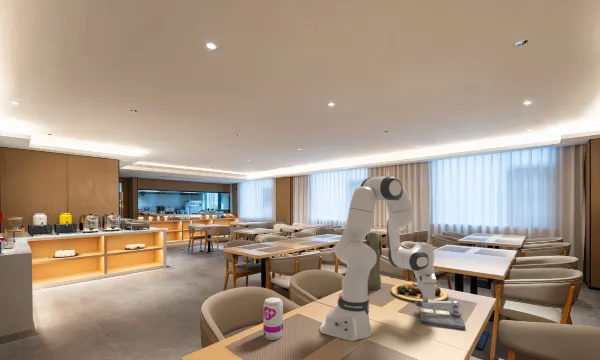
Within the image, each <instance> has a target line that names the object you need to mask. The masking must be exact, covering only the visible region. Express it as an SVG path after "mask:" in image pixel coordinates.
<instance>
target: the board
mask: <svg viewBox="0 0 600 360" xmlns="http://www.w3.org/2000/svg"><path fill="white" fill-rule="evenodd" d="M419 312H420V314H419V315H420V323H421V325H425V326H433V327H440V328H447V329H448V328H449V329H454V330H455V329H456V330H461V331H466V325H465V322H464V320H463V317H462V315H463V313H462V312H461V311H460V307H454V306H422V307H419Z"/></svg>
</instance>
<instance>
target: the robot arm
mask: <svg viewBox="0 0 600 360" xmlns="http://www.w3.org/2000/svg"><path fill="white" fill-rule="evenodd" d="M377 201H385V202H386V207H387V213H388V219H387V220H386V234H387V245H388V254H387V257H388V258H387V259H388V261H389V264H391V265H392V266H393V267H395V268H402V269H405V270H410V271H414V273H415V275H414V276H415V279H416V283H417V287H418V289H419V290H420V291H421V293H422V297H423V301H428V300H434V299H435V284H436V283H437V277H436V274H435V266H434V263H435V253H434V247H433V245H432V243H430V242H429V243H428V242H424V241H416V242H415V244H414V246H413V247H412V248H410V249H409V248H404V247H403V246H402V245H401V239H400V230H401V229H403V228H406V226H408V225H410V224H411V222H412V221H413V219H414V210H413V207H412V203H411V199H410V197H409V194H408V192H407V190H406V188H405V187H403V184H402V182H401V181H400V179H398V178H397V177H395V176H381V175H380V176H373V177H370V176H369V177H368V178H366V179H364V180H363V181H362V182H361V184H360V186H359V187H357V188H355V190H354V191H353V194H352V196H351V201H350V203H349V209H348V215H347V219H346V225H345V228H344V230H343V232H342V235H341V237H340V239H339V240H338V241H337V242H336V244H335V246H334V255H335V256H336V258H337V259H338V260H339V261H340V262H341V263H343V264H346V272H345V276H344V277H342V280H341V288H342V289H341V290H342V291H341V293H342V294H340V295H339V296H338V299H337V305H336V306H335V307H334V308H332V309H331V310H329V311H328V312H327V314H326V316H325V320H324V321H323V322H322V323H321V324H320V326H319V327H320V328H319V331H320V333H321V334H324V335H328V336H331V337H334V338H338V339H342V340H345V341H349V342H356V341H358V340H362V339H363V340H364V339H367V338H369V337H371V336H372V335H373V330H372V325H371V322H370V314H369V312H370V300H369V296H368V294H369V293H368V290H369V289H368V277H369V273H370V270H371V269H372V268H373V267H374V265H375V264H376V260H377V256H376V253H375V251H374V250H373V249H372V248H371V247H369V246H368V245H366V244H364V242H365V238H367V236H368V234H369V233H371V231H372V228H373V221H374V215H375V209H376V208H375V207H376V203H377Z"/></svg>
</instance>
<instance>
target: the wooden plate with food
mask: <svg viewBox="0 0 600 360" xmlns="http://www.w3.org/2000/svg"><path fill="white" fill-rule="evenodd" d="M390 293H391V295H392V296H393V297H394V298H396V299H398V300H401V301H404V302H409V303H414V304H415V301H423V297H422V293H421V291H420V290H419V289H418V287H417V282H416V281H415V282H413V281H408V282H405V283H401V284H395V285H394V286H392V287H391V289H390ZM448 299H449V293H448V292H447V291H446V290H444V289H442V288H440V286H438V285H437V284H436V283H435V299H434V300H428V301H448Z"/></svg>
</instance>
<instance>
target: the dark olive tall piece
mask: <svg viewBox="0 0 600 360" xmlns="http://www.w3.org/2000/svg"><path fill="white" fill-rule="evenodd" d="M363 244H366V245H368V246H369V247H371V248H372V249H373V250H374V251H375V253H376V256H377V260H376V264H375V265H374V267H373V268H372V269H371V270H370V273H369V277H368V290H373V291H378V290H381V289H382V287H381V285H382V277H381V274H380V273H381V270H380V269H381V267H380V265H381V264H380V262H381V257H382V255H383V250H382V247H383V245H382V244H383V243H382V241H381V240H380V237H379V234H378V233H377V232H369V233H368V234H367V235H366V240H364V241H363Z"/></svg>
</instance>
